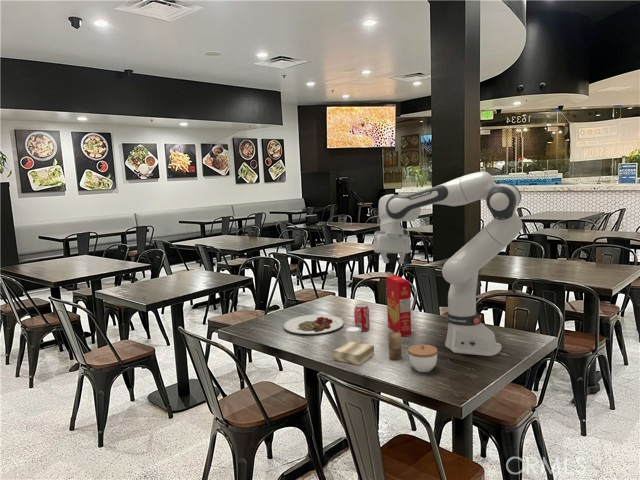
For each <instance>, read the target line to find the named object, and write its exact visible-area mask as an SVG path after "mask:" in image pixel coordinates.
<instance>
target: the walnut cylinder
mask: <svg viewBox="0 0 640 480" xmlns="http://www.w3.org/2000/svg"><path fill="white" fill-rule="evenodd" d="M387 335H388V358H389V360H390V361H391V360H392V361H400V360H402V358H403V356H402V336H401V333H399V332H394V331H392V332H389V333H388V334H387Z"/></svg>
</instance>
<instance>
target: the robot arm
mask: <svg viewBox="0 0 640 480" xmlns="http://www.w3.org/2000/svg"><path fill="white" fill-rule="evenodd" d="M479 200H483V201H485V204H486V207H487V208H488V210H489V211H490V212H489V213H491V216H492V217H493V218H492V220H491V221H489V222H488V224H486V225H485V226H484V227H483V228H482V229H481V230H480V231H479V232H478V233H477V234H476V235H475V236H473V237H472V238H471V239H470V240H469V241H468V242H466V244H464V245H463V246H462V247H461V248H459V250H458V251H456V252H455V253H454V254H453V255H452V256H451V257H449V258H448V259H447V260H446V261H445V263H444V264H443V266H442V270H441V274H442V277H443V279H444V280H445V281H446V282H447V283H449V284H450V286H449V288H448V294H447V304H448V305H447V308H448V309H447V314H446V315H447V317H446V322H447V333H446V338H445V342H444V346H445V347H446V348H447V349H449V350H450V351H452V353H456V354H465V355H466V354H467V355H477V356H486V357H493V356H496V355H498V354H499V353H500V352H501V351H502V349H503V347H502V344H501V343H499V342H497V340H496V335H495V333H494V332H493V331H492V330H491V329H490V328H488V327H487V326H486V325H485V324H484V323H482V321H481V320H482V314H480V315H479V314H478V313H477V303H476V302H477V301H476V299H477V287H478V281H479V280H478V279H479V271H480V270H481V269H482V268H483V267H484V266H486V265H487V264H488V263H490V262H491V261H492V259H494V258H495V257H496V256H497V255H498V254H499V253H501V252H502V251H503V250H504V249H505V248H506V247H508V245H510V243H511V242H512V241H514V239H515V238H516V237H517V236H518V234H519V233H520V232H521V231H522V229H523V221H522V219H521V218H520V217H519V216H518V214H517V213H516V209H517V208H518V206H519V205H520V203H521V200H522V195H521V190H519V188H518V187H517V186H515V185H513V184H512V183H505V182H500V181H497V182H496V181H495V180H494V177H493V176H492V174H490V173H489V172H487V171H477V172H473V173H468V174H466V175H462V176H460V177H456V178H454V179H451V180H449V181H447V182H444V183H441V184H439V185H436V186H433V187H429V188H426V189H422V190H419V191H416V192H413V193H412V192H411V193H409V194H394V193H389V194H385V195H383V196H381V197H380V199H379V200H378V217H379V219H380V220H379V221H380V223H379V228H380V230H376V231H375V232H374V233H373V251H374V253H377V254H378V253H379V254H380V257H381V258H382V260H383V264H389V263H390V259H389V258H388V256H387V254H398V255H399V259H398V261H397V262H398V264H401V265H402V264H404V263H405V261H404V259H405V257H406V254H410V252H411V249H412V247H411V239H410V237H409V236H410V231H409V230H408V229H406V228H404V227H402V226H401V222H408V223H409V222H415V221H416V220H417V219H418V218H419V217H420V215H421V210H422V209H421V208H423V207H428V206H430V205H443V206H447V207H448V206H449V207H458V206H464V205H467V204H468V205H469V204H470V203H473V202H476V201H479Z"/></svg>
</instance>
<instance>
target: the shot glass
mask: <svg viewBox="0 0 640 480" xmlns="http://www.w3.org/2000/svg"><path fill="white" fill-rule="evenodd" d="M344 331H345V338H346V343H347V342H348V341H351V342H357V343H361V339H362V338H361V337H362V336H361V335H362V331H361V328H359V327H355V326H349V327H345V330H344Z"/></svg>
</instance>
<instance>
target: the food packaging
mask: <svg viewBox="0 0 640 480" xmlns="http://www.w3.org/2000/svg"><path fill="white" fill-rule="evenodd" d="M385 278H386V279H385V281H386V283H385V284H386V308H387V311H386V312H387V327H388V329H390V330H392V332H399V333H401V337H407V336H412V318H411V317H412V315H411V313H412V312H411V285H410V284H411V282H410V280H407V279H405V278H404V277H402V276H399V275H397V274H396V275H389V276H388V275H387V276H385Z"/></svg>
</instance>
